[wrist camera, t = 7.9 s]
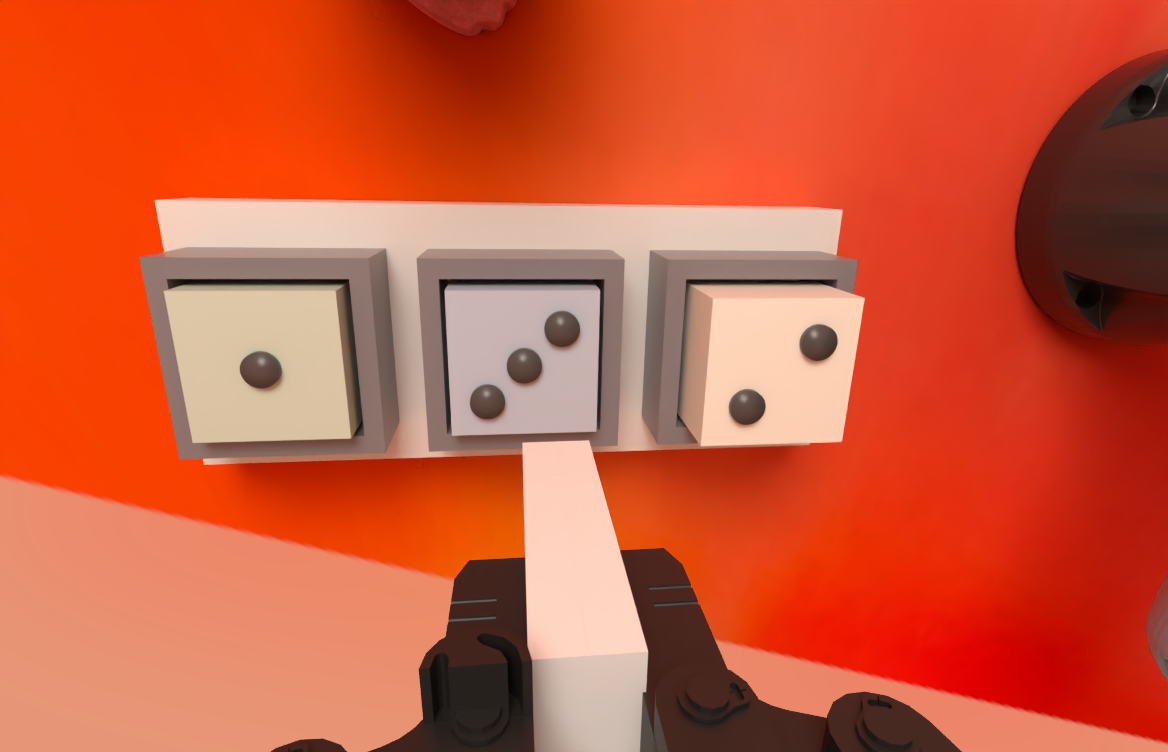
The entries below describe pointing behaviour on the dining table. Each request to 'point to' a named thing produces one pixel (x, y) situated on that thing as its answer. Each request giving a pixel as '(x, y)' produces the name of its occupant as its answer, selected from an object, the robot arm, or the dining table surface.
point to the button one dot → (266, 358)
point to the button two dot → (767, 361)
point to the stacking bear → (466, 14)
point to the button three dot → (522, 355)
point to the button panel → (483, 251)
